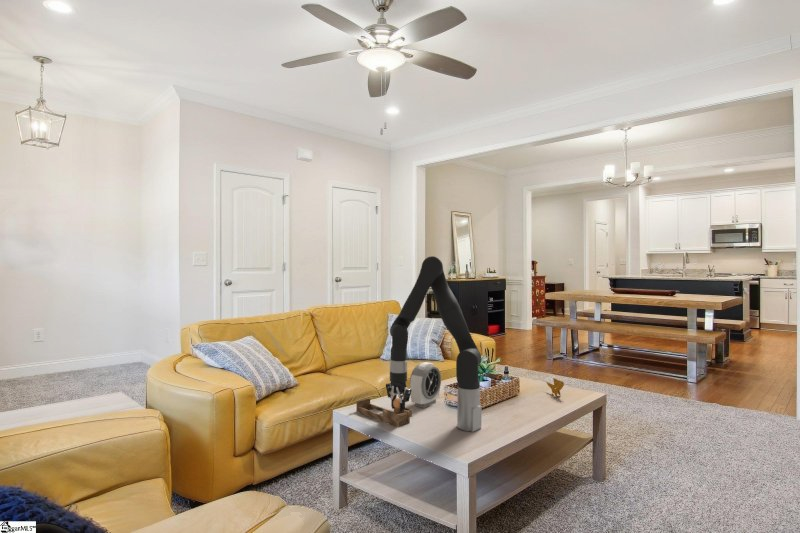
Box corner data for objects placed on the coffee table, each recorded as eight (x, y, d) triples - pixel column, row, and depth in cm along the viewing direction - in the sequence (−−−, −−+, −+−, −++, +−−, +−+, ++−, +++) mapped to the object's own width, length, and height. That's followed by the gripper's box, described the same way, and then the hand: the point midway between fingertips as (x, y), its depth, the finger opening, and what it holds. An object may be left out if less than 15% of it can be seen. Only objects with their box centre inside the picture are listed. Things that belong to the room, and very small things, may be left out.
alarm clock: (422, 410, 209) (422, 367, 209) (407, 406, 214) (407, 364, 214) (442, 401, 223) (442, 360, 223) (428, 397, 228) (428, 358, 228)
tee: (412, 415, 202) (412, 409, 202) (405, 418, 199) (405, 411, 199) (405, 413, 204) (405, 407, 204) (399, 415, 202) (399, 409, 202)
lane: (409, 423, 193) (409, 411, 192) (397, 427, 187) (397, 415, 187) (368, 408, 212) (368, 397, 212) (356, 411, 206) (356, 401, 206)
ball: (405, 408, 192) (405, 398, 192) (398, 410, 189) (398, 400, 189) (398, 406, 195) (398, 396, 195) (390, 408, 192) (391, 398, 192)
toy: (563, 394, 225) (559, 374, 229) (547, 399, 239) (543, 380, 243) (568, 394, 226) (563, 374, 230) (552, 399, 240) (547, 380, 244)
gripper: (416, 371, 190) (416, 411, 190) (393, 365, 200) (392, 403, 200) (404, 374, 184) (403, 415, 185) (380, 368, 195) (380, 407, 195)
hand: (398, 409), depth 192 cm, fingers closed on ball, 4 cm apart
